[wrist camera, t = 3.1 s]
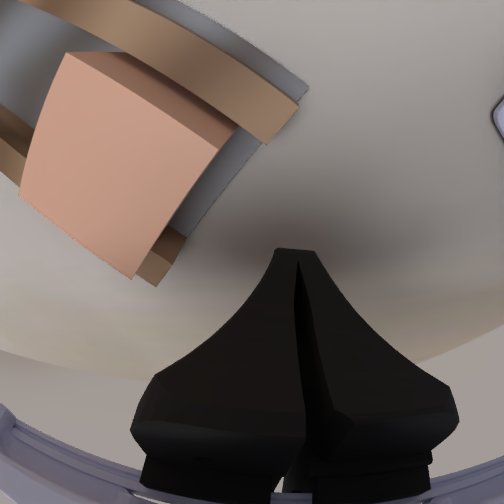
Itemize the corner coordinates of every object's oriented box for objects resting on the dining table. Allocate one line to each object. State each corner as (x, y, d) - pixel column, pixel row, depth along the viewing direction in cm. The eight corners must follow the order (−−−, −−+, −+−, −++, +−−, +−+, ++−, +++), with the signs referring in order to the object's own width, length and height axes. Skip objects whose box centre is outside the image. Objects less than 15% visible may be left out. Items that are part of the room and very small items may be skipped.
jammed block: (241, 122, 10) (218, 149, 7) (170, 220, 12) (131, 279, 9) (132, 52, 9) (66, 52, 5) (79, 156, 11) (18, 195, 8)
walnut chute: (308, 86, 10) (315, 89, 7) (167, 262, 14) (149, 296, 12) (16, -51, 5) (-15, -55, 3) (-44, 100, 10) (-73, 111, 8)
